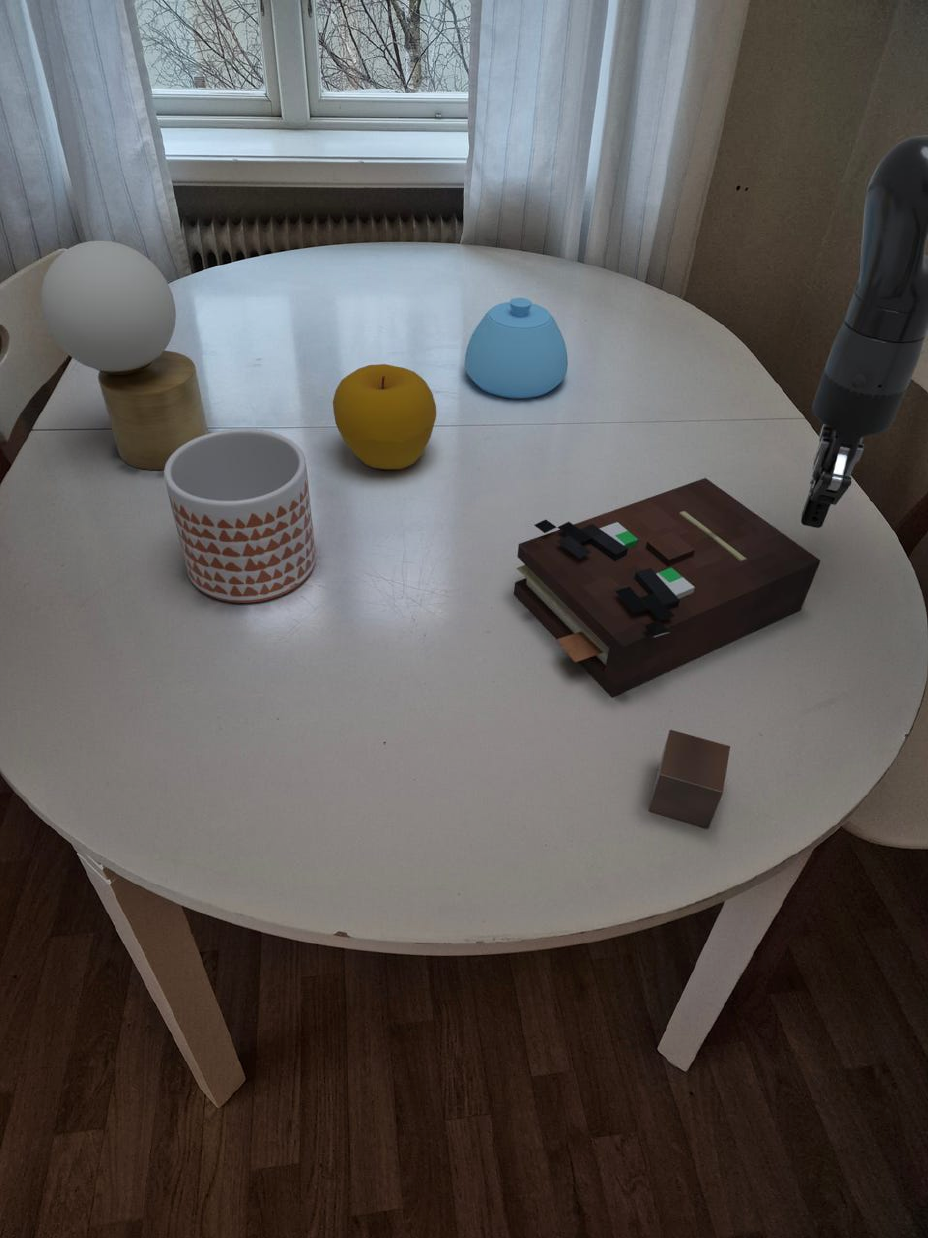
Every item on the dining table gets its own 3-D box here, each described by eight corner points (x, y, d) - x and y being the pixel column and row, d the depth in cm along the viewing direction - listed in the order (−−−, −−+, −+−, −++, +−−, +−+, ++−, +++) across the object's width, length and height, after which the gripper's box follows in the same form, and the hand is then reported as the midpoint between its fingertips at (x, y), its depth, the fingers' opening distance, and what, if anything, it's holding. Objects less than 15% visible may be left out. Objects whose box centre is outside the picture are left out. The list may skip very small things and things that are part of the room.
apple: (366, 497, 103) (361, 412, 96) (317, 447, 111) (309, 365, 103) (455, 467, 109) (458, 384, 101) (403, 421, 116) (402, 341, 109)
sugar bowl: (565, 407, 121) (574, 327, 113) (458, 398, 122) (461, 319, 114) (566, 358, 132) (575, 283, 124) (469, 351, 133) (472, 276, 125)
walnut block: (716, 782, 74) (730, 746, 71) (708, 829, 71) (722, 793, 67) (658, 765, 75) (669, 729, 72) (648, 811, 72) (659, 774, 68)
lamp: (69, 473, 105) (0, 266, 88) (108, 415, 115) (54, 219, 98) (193, 479, 105) (149, 272, 88) (221, 420, 115) (186, 225, 98)
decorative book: (849, 553, 86) (612, 657, 74) (825, 609, 91) (600, 715, 79) (715, 460, 98) (492, 537, 86) (700, 514, 103) (488, 594, 91)
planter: (208, 620, 87) (185, 518, 78) (173, 545, 95) (148, 445, 87) (335, 581, 92) (326, 481, 83) (290, 513, 100) (278, 416, 92)
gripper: (912, 413, 75) (846, 567, 87) (907, 350, 84) (848, 497, 96) (823, 397, 77) (770, 550, 88) (827, 337, 86) (779, 483, 98)
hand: (810, 522), depth 92 cm, fingers closed
